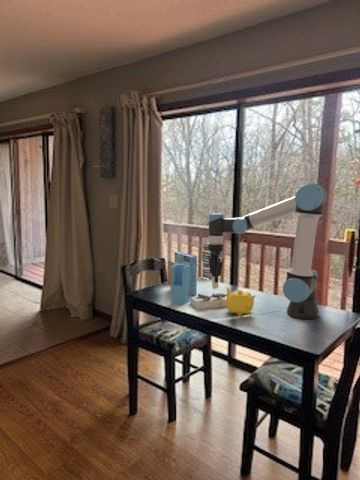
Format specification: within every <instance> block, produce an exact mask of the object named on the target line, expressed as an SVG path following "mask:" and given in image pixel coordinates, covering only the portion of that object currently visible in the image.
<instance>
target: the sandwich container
mask: <svg viewBox="0 0 360 480" xmlns="http://www.w3.org/2000/svg"><path fill="white" fill-rule="evenodd" d="M173 265H175V261H172V260H167V282H169V283H170V284H171V282H172V277H173V274H172V269H171V266H173Z"/></svg>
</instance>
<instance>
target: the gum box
mask: <svg viewBox="0 0 360 480" xmlns="http://www.w3.org/2000/svg"><path fill="white" fill-rule="evenodd" d="M173 253H174V263H175V265H176V264H182V265H189V269H188V280H189V283H190V286H189V291H188V297H191V296H198V294H197V293H198V292H197V291H198V289H197V285H198V283H197V282H198V280H197V279H198V276H197V275H198V264H197V263H198V261H197V260H198V257H197V255H194V254H189V253H185V252H182V251H174V252H173Z"/></svg>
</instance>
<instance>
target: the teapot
mask: <svg viewBox="0 0 360 480" xmlns="http://www.w3.org/2000/svg"><path fill="white" fill-rule="evenodd" d="M225 288H226V292H227V293H226V294H227V304H226V306H225V307H226V309H227V310H228V311H229V312H228V313H229V314H236V316H237V317H242V316H243V315H242V314H246V315H250V314H251V313H250V312H252V310H253V309H254V304H255V303H254V300H255V297H256V295H252V293H251V292H244V291H243V290H242V289H238V290H237V291H238V292H233V293H232V294H231V292H232V291H231V289H230V287H228V286H225Z"/></svg>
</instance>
